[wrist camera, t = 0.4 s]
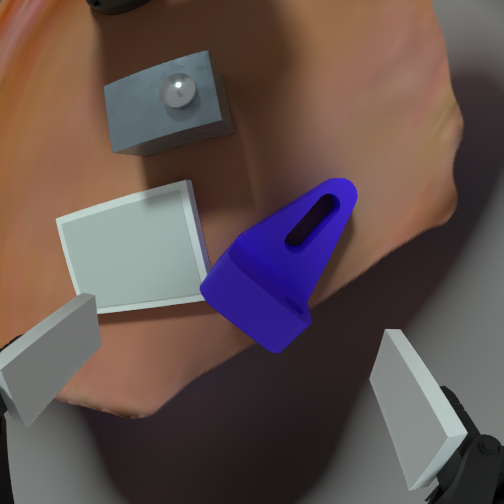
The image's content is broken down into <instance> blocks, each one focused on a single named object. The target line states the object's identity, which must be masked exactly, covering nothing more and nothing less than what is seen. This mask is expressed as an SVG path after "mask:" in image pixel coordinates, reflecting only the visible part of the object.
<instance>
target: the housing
mask: <svg viewBox="0 0 504 504" xmlns="http://www.w3.org/2000/svg"><path fill="white" fill-rule="evenodd" d="M104 94H105V103H106V111H107V119H108V127H109V134H110V140H111V147H112V153H119V154H127V155H135V156H143V157H147V156H150V155H153V154H157V153H160V152H164V151H167V150H171V149H174V148H178V147H181V146H185V145H189V144H193V143H196V142H200V141H204V140H208V139H213V138H217V137H221V136H225V135H230V134H234V129H233V124H232V119H231V114H230V109H229V105H228V100H227V95H226V90H225V85H224V81H223V76H222V74H221V72H220V71H219V69H218V67H217V65H216V64H215V62H214V60H213V58H212V57H211V55H210V53H209V51H208V50H205V51H202V52H198V53H194V54H191V55H187V56H184V57H181V58H178V59H174V60H171V61H168V62H165V63H162V64H159V65H156V66H154V67H151V68H148V69H145V70H143V71H140V72H137V73H135V74H132V75H130V76H127V77H125V78H122V79H120V80H117V81H115V82H113V83H110V84H108V85H106V86H104Z"/></svg>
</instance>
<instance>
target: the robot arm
mask: <svg viewBox="0 0 504 504" xmlns="http://www.w3.org/2000/svg"><path fill="white" fill-rule="evenodd" d="M147 1H149V0H86V2H87V3H88V5H89V6H91V7H92V8H93V9H94V10H96V11H97V12H99V13H102V14H107V15H113V14H119V13H123V12H127V11H130V10H132V9H134V8H137V7H139V6H140V5H142V4H144V3H146V2H147ZM101 345H102V344H101V337H100V331H99V323H98V316H97V308H96V299H95V295H92V294H87V293H81V294H79V295H78V296H77V297H75V298H74V299H72V300H71V301H69V302H68V303H67V304H65V305H64V306H62V307H61V308H59V309H58V310H57V311H55V312H54V313H52V314H51V315H50V316H48V317H47V318H45V319H44V320H43V321H41V322H40V323H39V324H37V325H36V326H34V327H33V328H32V329H30V330H29V331H28V332H26V333H24V334H22V335H19V336H17V337H15V338H14V339H13V340H11V341H10V342H9V344H6V345H5V346H3V348H1V349H0V504H14V499H13V493H12V486H11V479H10V471H9V462H8V452H7V451H8V450H7V433H6V419H5V416H4V415H3V414H4V413H5V412H6V411H7V410H8V412H9V414H10V416H11V418H12V420H13V421H14V422H15V423H17V424H19V425H20V426H22V427H24V428H26V429H27V428H28V427H29V426H30V425H31V423H32V422H33V421H34V420H35V419H36V418H37V416H38V415H39V414H40V413H41V412H42V411H43V409H44V408H45V407H46V406H47V405H48V404H49V403H50V402H51V400H52V399H53V398H54V397H55V396H56V395H57V394H58V392H59V391H60V390H61V389H62V388H63V387H64V386H65V385H66V384H67V382H68V381H69V380H70V379H71V378H72V377H73V376H74V375H75V374H76V372H77V371H78V370H79V369H80V368H81V367H82V366H83V365H84V364H85V363H86V362H87V360H88V359H89V358H90V357H91V356H92V355H93V354H94V353H95V352H96V351H97V350H98V349H99V348H100V346H101ZM370 382H371V385H372V387H373V389H374V392H375V395H376V397H377V400H378V403H379V405H380V408H381V411H382V413H383V416H384V419H385V421H386V424H387V427H388V430H389V432H390V435H391V438H392V441H393V444H394V447H395V449H396V452H397V455H398V458H399V461H400V464H401V467H402V470H403V473H404V476H405V479H406V482H407V486H408V489H409V490H414V489H418V488H423V487H428V486H429V485H430V483H431V482H432V481H433V480H434V479H435V477H437V479H438V482H439V485H438V486H437V487H436V488H435V489H434V490H433V491H432V493H431V494H430V495H429V496H428V497H427V498H426V499H425V501H428V500H429V499H430V500H429V502H428V504H504V446H502V445H501V443H500V442H499V441H498V440H497V439H496V438H494V437H492V436H490V435H485V434H483V435H481V434H480V433H479V431H478V429H477V428H476V426H475V425H474V423H473V421H472V420H471V418H470V417H469V415H468V414H467V412H466V411H464V407H463V406H462V404H460V402H459V400H458V398H457V397H456V395H455V394H454V393H453V392H452V391H451V390H449V389H448V388H447V387H446V386H438V384H437V383H436V381H435V380H434V378H433V377H432V375H431V373H430V372H429V370H428V369H427V367H426V366H425V365H424V363H423V362H422V360H421V359H420V357H419V356H418V354H417V353H416V351H415V350H414V348H413V347H412V346H411V344H410V343H409V341H408V340H407V338H406V337H405V336H404V334H403V333H402V331H401V330H395V329H385V332H384V335H383V339H382V342H381V345H380V349H379V352H378V355H377V358H376V361H375V364H374V367H373V370H372V373H371V376H370Z"/></svg>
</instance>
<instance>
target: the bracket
mask: <svg viewBox="0 0 504 504" xmlns="http://www.w3.org/2000/svg"><path fill="white" fill-rule="evenodd" d="M325 194H330V195H331V196H332V198H333V201H334V203H333V207H332V209H331V210H330V211H329V212H328V213H327V214H326V215H325V217H324V218H323V219H322V220H321V221H320V222H319V223H318V224H317V226H316V227H315V228H314V229H313V230H312V231H311V232H310V233H309V234H308V236H307V237H306V238H305V239H304V240H303V241H302V242H301V243H300V244H298V245H295V246H293V245H289V244H288V243H286V241H285V238H286V236H287V235H288V233H289V232H290V231H291V230H292V229H293V228H294V227H295V226H296V224H297V223H298V222H299V221H300V220H301V219H302V218H303V217H304V215H305V214H306V213H307V212H308V211H309V210H310V209H311V208H312V206H313V205H314V204H315V203H316V202H317V201H318V200H319V199H320V197H321V196H323V195H325ZM356 201H357V190H356V188H355V186H354V184H353V183H352V182H350V181H349V180H347V179H343V178H332V179H328V180H326V181H325V182H323V183H321V184H320V185H318V186H317V187H315V188H313V189H312V190H310V191H308V192H307V193H305V194H304V195H302V196H300V197H299V198H297V199H295V200H294V201H292V202H291V203H289V204H287V205H286V206H284V207H283V208H281V209H279V210H278V211H276V212H275V213H273V214H271V215H270V216H268V217H267V218H265V219H263V220H262V221H260V222H259V223H257V224H255V225H254V226H252V227H251V228H249V229H247V230H246V231H244V232H243V233H241V234H240V235H239V236H238V237H237V238H236V240H235V241H234V242H233V243H232V244H231V245H230V247H229V248H228V249H227V250H226V251H225V252H224V254H223V255H222V256H221V257H220V258H219V260H218V261H217V262H216V264H215V265H214V266H213V268H212V269H211V271H210V272H209V273H208V275H207V276H206V278H205V279H204V280H203V282H202V283H201V285H200V292H201V294H202V296H203V298H204V299H205V300H206V301H207V303H208V304H209V305H210V306H212V307H213V308H214V309H215V310H216V311H218V312H219V313H220V314H221V315H223V316H224V317H225V318H226V319H228V320H229V321H230V322H232V323H233V324H234V325H235V326H237V327H238V328H239V329H240V330H242V331H243V332H244V333H246V334H247V335H248V336H250V337H251V338H252V339H253V340H255V341H256V342H257V343H259V344H260V345H261V346H263V347H264V348H265V349H267V350H268V351H270V352H273V353H276V354H278V353H280V352H281V351H282V350H284V349H285V348H286V347H287V346H288V345H289V344H290V343H291V342H292V341H293V340H294V339H295V338H296V337H297V336H299V335H300V333H302V331H304V330H305V329H306V328H307V327H308V326H309V325H310V324H311V323H312V320H311V316H310V311H309V307H308V302H307V301H308V299H309V297H310V295H311V293H312V291H313V289H314V287H315V285H316V283H317V281H318V280H319V278H320V276H321V274H322V272H323V270H324V268H325V266H326V264H327V262H328V260H329V258H330V256H331V254H332V252H333V250H334V248H335V246H336V244H337V242H338V240H339V237H340V235H341V233H342V231H343V229H344V227H345V225H346V223H347V221H348V219H349V216H350V214H351V212H352V210H353V208H354V206H355V203H356Z"/></svg>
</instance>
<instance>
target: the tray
mask: <svg viewBox="0 0 504 504" xmlns="http://www.w3.org/2000/svg"><path fill="white" fill-rule="evenodd" d="M56 222H57V227H58V231H59V235H60V239H61V243H62V247H63V251H64V254H65V258H66V262H67V265H68V268H69V272H70V275H71V278H72V282H73V285H74V288H75V291H76V294H77V296H78V295H79V294H81V293H87V294H92V295H95V299H96V308H97V314H101V313H111V312H119V311H128V310H136V309H144V308H152V307H160V306H168V305H175V304H183V303H190V302H197V301H204V300H205V299H204V298H203V296H202V294H201V292H200V285H201V283H202V282H203V280H204V279H205V278H206V276H207V275H208V273H209V272H210V271H211V266H210V262H209V258H208V254H207V249H206V245H205V241H204V236H203V232H202V228H201V223H200V219H199V214H198V210H197V205H196V200H195V196H194V191H193V186H192V182H191V180H183V181H179V182H175V183H171V184H168V185H164V186H160V187H156V188H153V189H149V190H145V191H142V192H138V193H135V194H131V195H128V196H124V197H121V198H118V199H114V200H111V201H108V202H105V203H102V204H98V205H95V206H92V207H89V208H86V209H83V210H80V211H77V212H74V213H71V214H68V215H65V216H62V217H59V218H57V219H56Z"/></svg>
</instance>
